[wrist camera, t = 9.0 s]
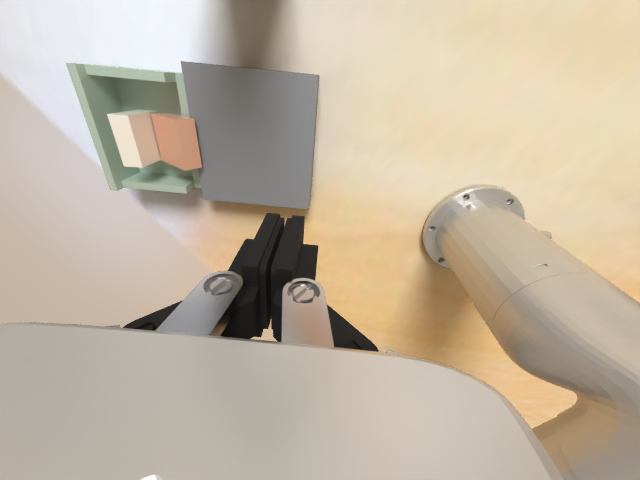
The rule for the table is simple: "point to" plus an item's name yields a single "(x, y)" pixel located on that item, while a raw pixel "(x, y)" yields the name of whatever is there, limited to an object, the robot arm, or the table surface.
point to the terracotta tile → (177, 140)
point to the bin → (126, 95)
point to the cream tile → (135, 137)
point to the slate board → (253, 133)
